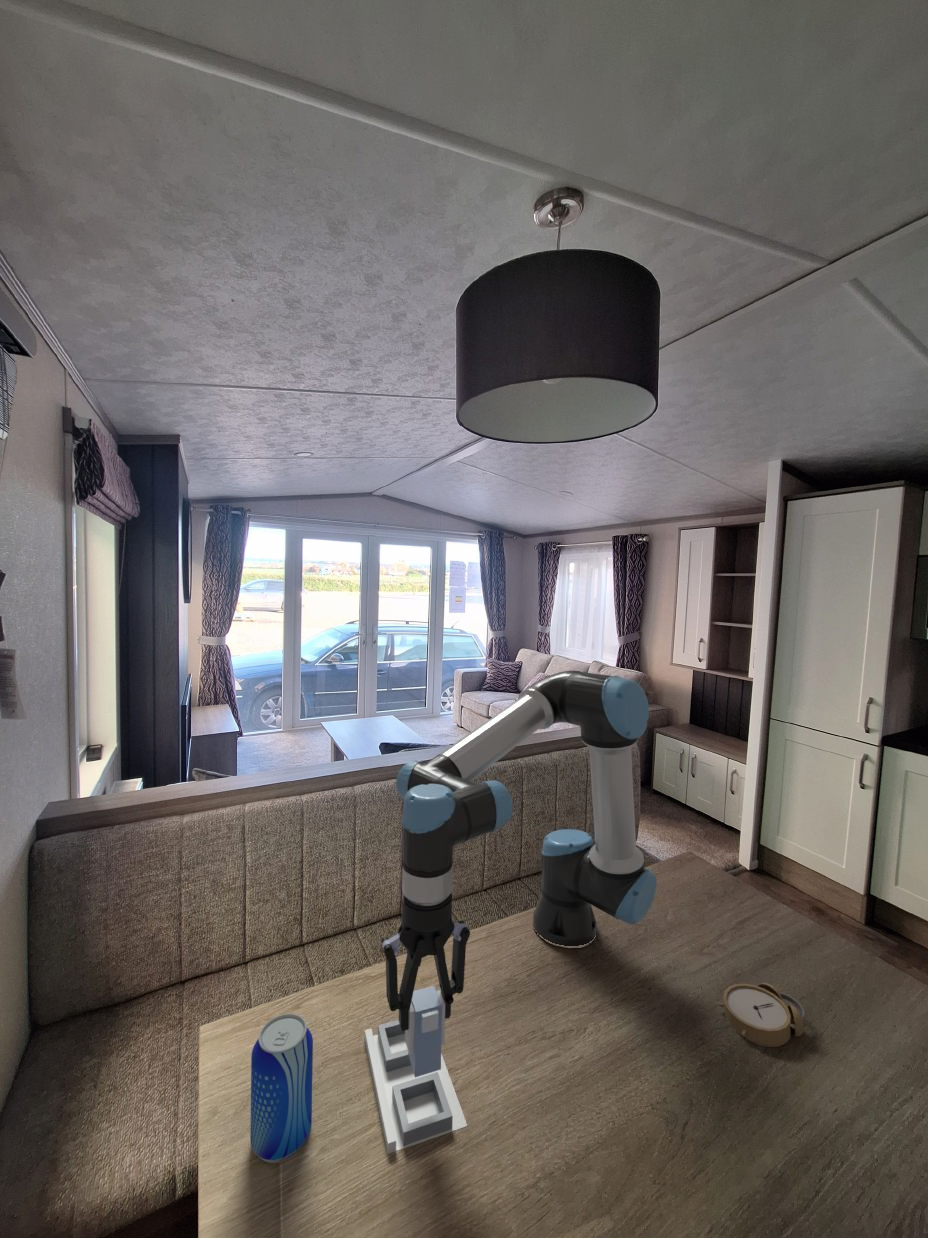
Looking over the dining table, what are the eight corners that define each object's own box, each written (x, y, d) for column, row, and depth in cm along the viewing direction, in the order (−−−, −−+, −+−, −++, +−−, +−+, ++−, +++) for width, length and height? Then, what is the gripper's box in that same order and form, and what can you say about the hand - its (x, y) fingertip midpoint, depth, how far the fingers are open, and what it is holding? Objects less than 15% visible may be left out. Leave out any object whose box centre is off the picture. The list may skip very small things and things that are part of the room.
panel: (429, 1026, 95) (429, 1010, 95) (467, 1132, 76) (467, 1113, 76) (364, 1043, 91) (364, 1027, 91) (387, 1160, 72) (388, 1140, 72)
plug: (433, 1047, 81) (434, 985, 80) (442, 1075, 76) (443, 1010, 75) (408, 1054, 79) (409, 992, 79) (416, 1083, 75) (417, 1017, 74)
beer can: (239, 1140, 74) (240, 1033, 74) (291, 1098, 81) (293, 999, 80) (269, 1184, 69) (270, 1069, 68) (322, 1135, 75) (324, 1030, 75)
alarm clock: (709, 989, 103) (774, 969, 105) (712, 1012, 103) (777, 992, 105) (749, 1037, 92) (822, 1013, 94) (752, 1062, 92) (824, 1038, 94)
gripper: (471, 869, 83) (468, 1008, 84) (365, 888, 77) (364, 1037, 78) (489, 895, 76) (486, 1046, 77) (374, 918, 70) (372, 1082, 71)
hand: (424, 1042), depth 78 cm, fingers closed on plug, 4 cm apart
